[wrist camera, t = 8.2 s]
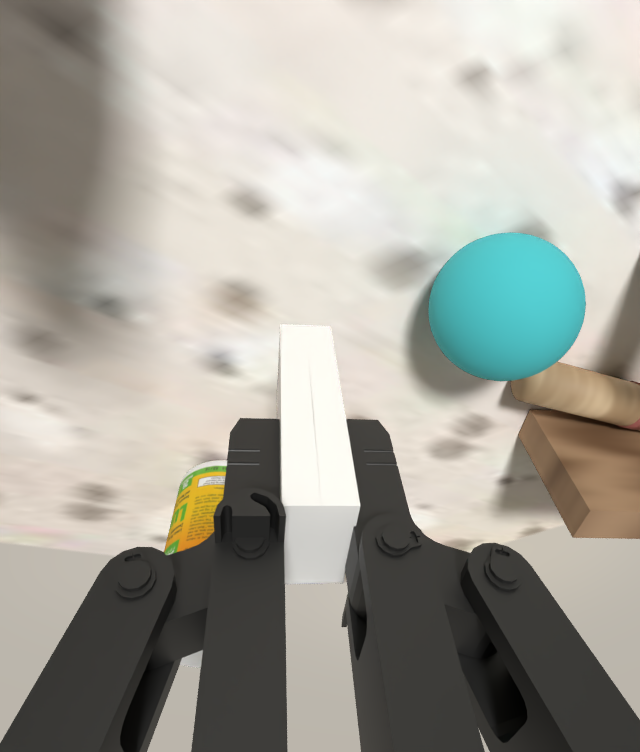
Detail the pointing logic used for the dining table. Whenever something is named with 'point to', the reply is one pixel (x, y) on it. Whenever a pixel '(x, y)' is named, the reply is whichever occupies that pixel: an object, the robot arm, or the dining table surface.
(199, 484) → the supplement bottle
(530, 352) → the ball
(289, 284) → the dining table surface
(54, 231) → the dining table surface
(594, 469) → the walnut backstop
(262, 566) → the robot arm
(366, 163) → the dining table surface
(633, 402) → the beech pin
